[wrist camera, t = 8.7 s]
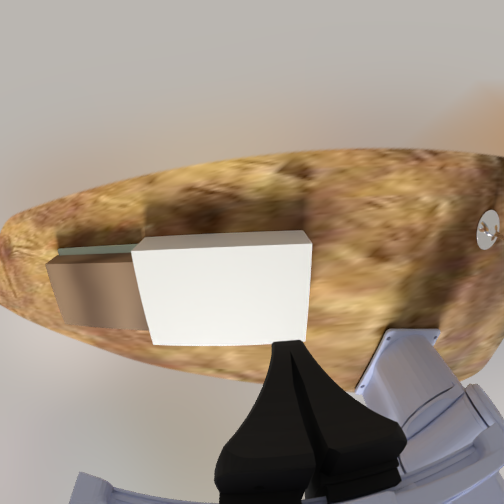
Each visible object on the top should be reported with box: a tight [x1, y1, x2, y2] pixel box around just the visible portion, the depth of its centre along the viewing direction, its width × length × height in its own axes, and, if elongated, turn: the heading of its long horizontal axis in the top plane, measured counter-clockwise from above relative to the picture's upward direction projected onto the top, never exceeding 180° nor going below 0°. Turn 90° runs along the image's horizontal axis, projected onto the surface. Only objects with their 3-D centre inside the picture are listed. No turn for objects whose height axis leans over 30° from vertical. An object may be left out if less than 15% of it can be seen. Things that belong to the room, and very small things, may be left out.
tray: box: [131, 230, 312, 346], centre depth 20 cm, size 12×8×3 cm, turn 92°
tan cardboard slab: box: [45, 253, 149, 331], centre depth 20 cm, size 9×6×2 cm, turn 91°
